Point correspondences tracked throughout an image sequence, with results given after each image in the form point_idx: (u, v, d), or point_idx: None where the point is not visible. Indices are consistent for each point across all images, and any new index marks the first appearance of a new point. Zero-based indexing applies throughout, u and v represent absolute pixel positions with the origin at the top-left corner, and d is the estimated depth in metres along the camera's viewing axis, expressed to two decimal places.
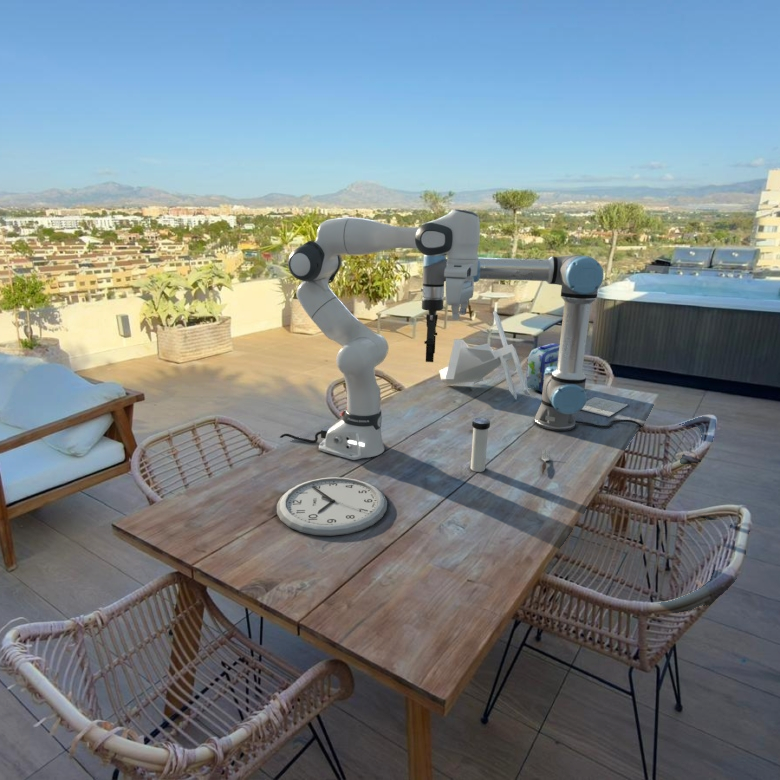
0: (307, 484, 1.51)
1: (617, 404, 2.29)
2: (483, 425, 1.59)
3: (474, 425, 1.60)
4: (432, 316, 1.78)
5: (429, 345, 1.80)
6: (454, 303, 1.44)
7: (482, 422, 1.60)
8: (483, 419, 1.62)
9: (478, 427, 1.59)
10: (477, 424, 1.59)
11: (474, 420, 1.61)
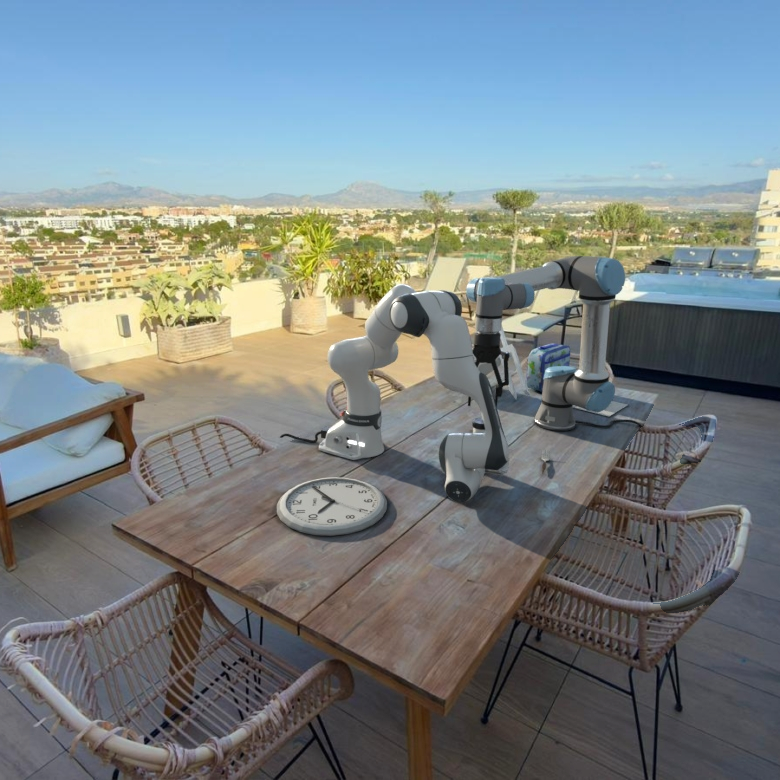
0: (307, 484, 1.51)
1: (617, 404, 2.29)
2: (483, 425, 1.59)
3: (474, 425, 1.60)
4: None
5: None
6: None
7: (482, 422, 1.60)
8: None
9: (478, 427, 1.59)
10: (477, 424, 1.59)
11: (474, 420, 1.61)
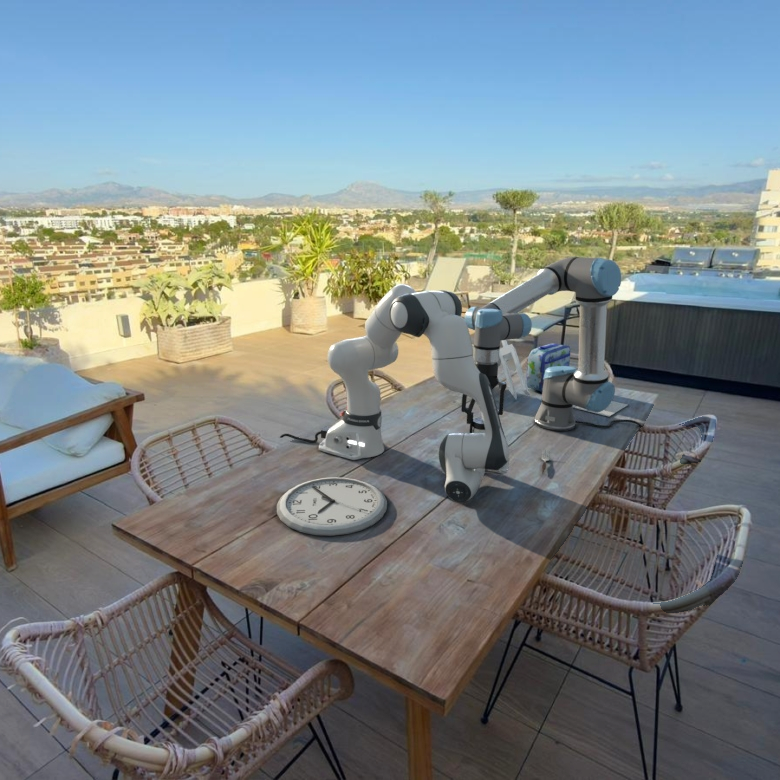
0: (307, 484, 1.51)
1: (617, 404, 2.29)
2: (483, 425, 1.59)
3: (474, 425, 1.60)
4: None
5: (467, 414, 1.62)
6: None
7: (482, 422, 1.60)
8: None
9: (478, 427, 1.59)
10: (477, 424, 1.59)
11: (474, 420, 1.61)
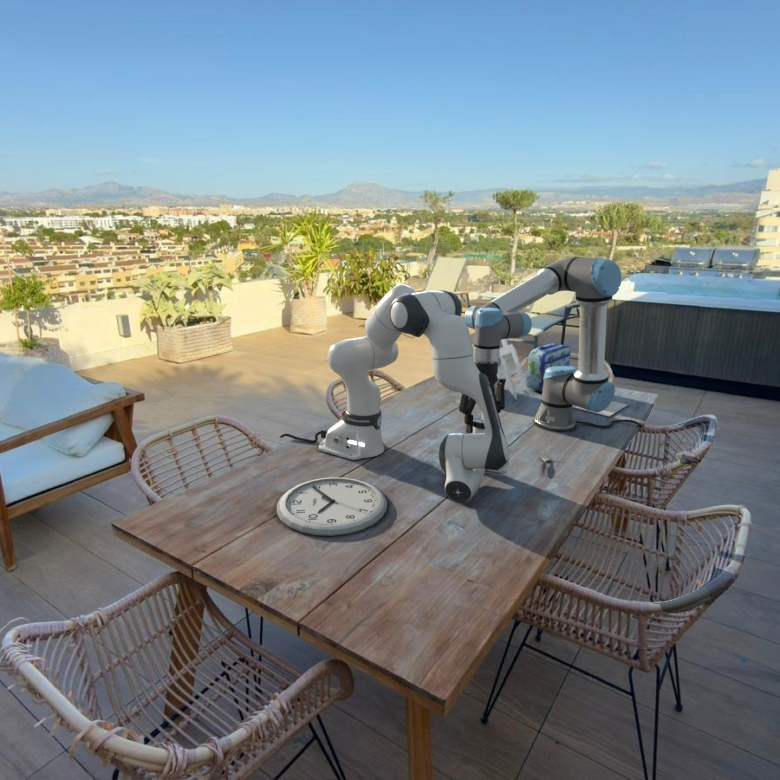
0: (307, 484, 1.51)
1: (617, 404, 2.29)
2: None
3: None
4: None
5: (465, 415, 1.59)
6: None
7: None
8: (477, 418, 1.62)
9: None
10: None
11: (481, 422, 1.59)
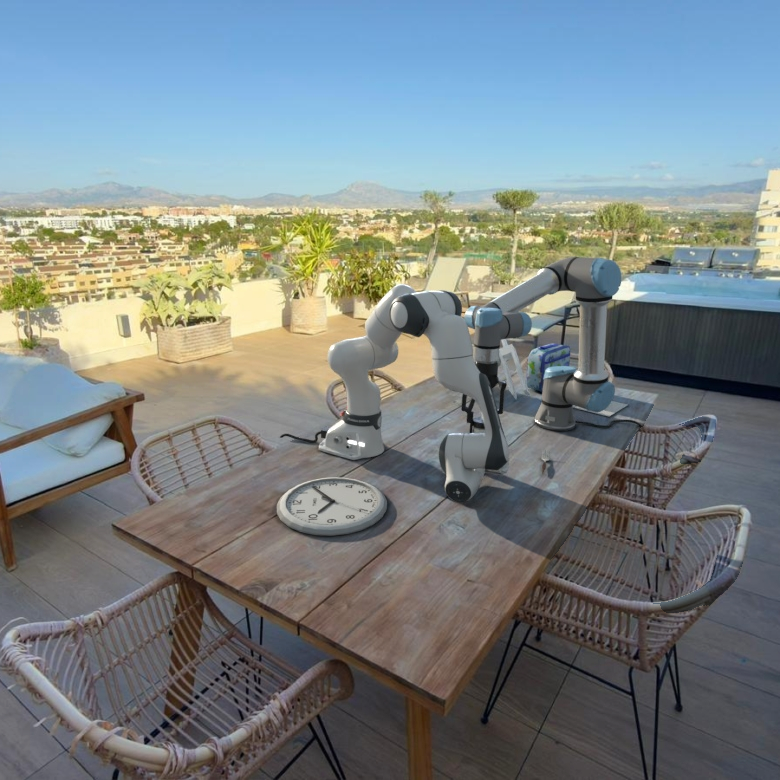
0: (307, 484, 1.51)
1: (617, 404, 2.29)
2: None
3: None
4: None
5: (467, 413, 1.62)
6: None
7: None
8: (477, 418, 1.62)
9: None
10: None
11: (481, 422, 1.59)
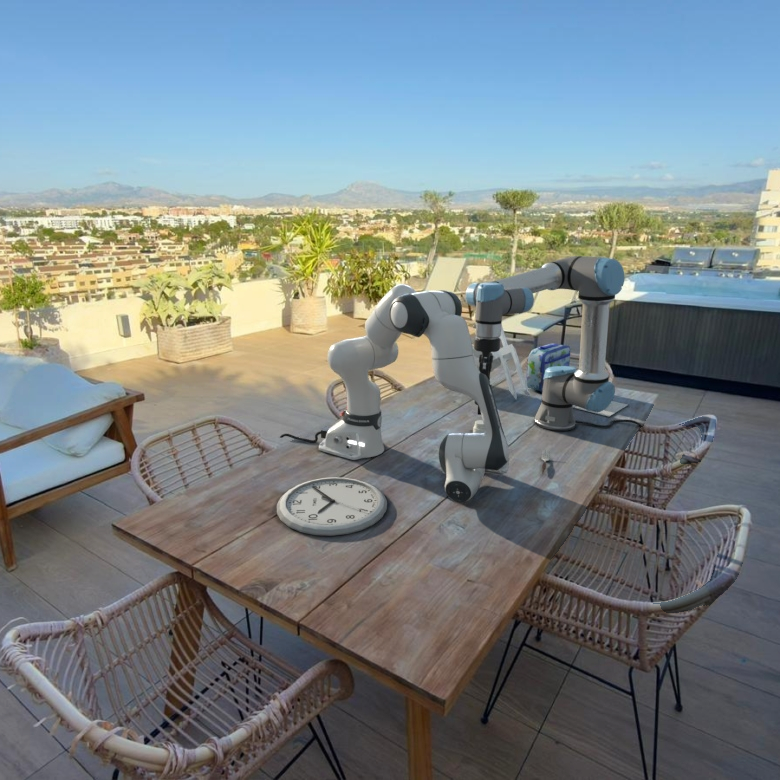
0: (307, 484, 1.51)
1: (617, 404, 2.29)
2: None
3: None
4: (485, 365, 1.49)
5: None
6: None
7: None
8: None
9: None
10: None
11: None
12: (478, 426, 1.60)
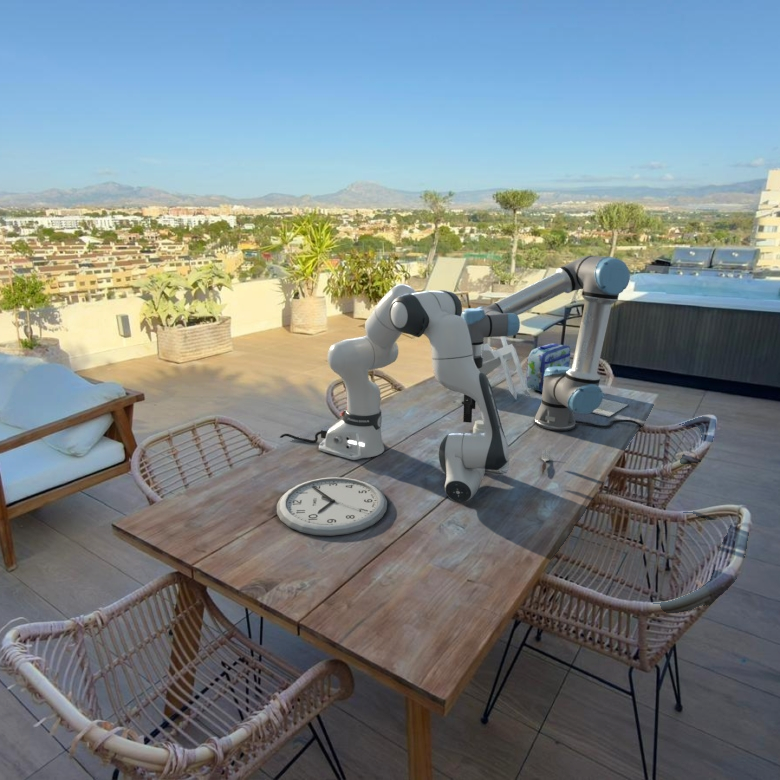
0: (307, 484, 1.51)
1: (617, 404, 2.29)
2: None
3: None
4: None
5: (467, 406, 1.72)
6: None
7: None
8: None
9: None
10: None
11: None
12: (478, 426, 1.60)
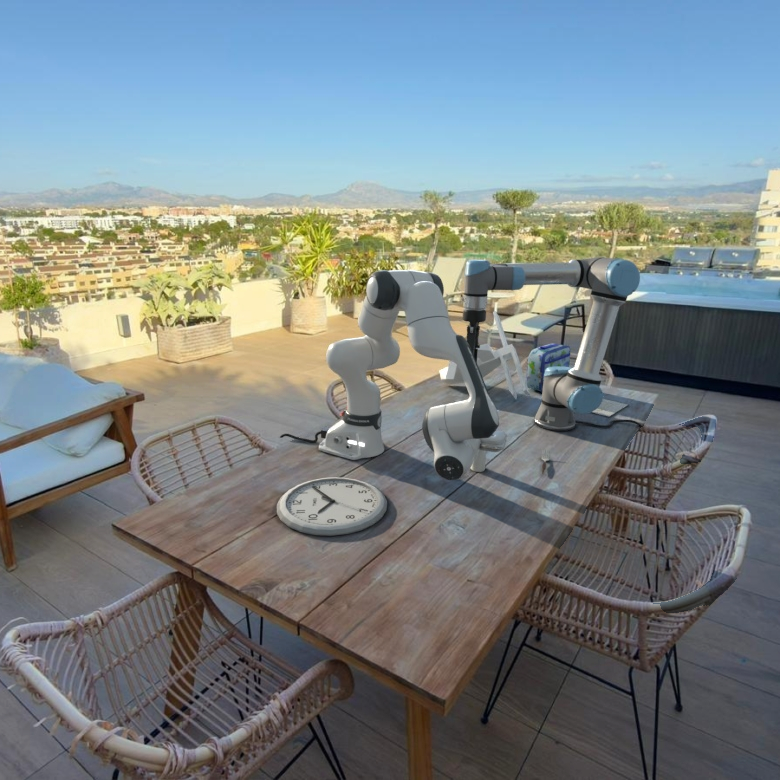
0: (307, 484, 1.51)
1: (617, 404, 2.29)
2: None
3: None
4: (472, 328, 1.65)
5: None
6: None
7: None
8: None
9: None
10: None
11: None
12: None
